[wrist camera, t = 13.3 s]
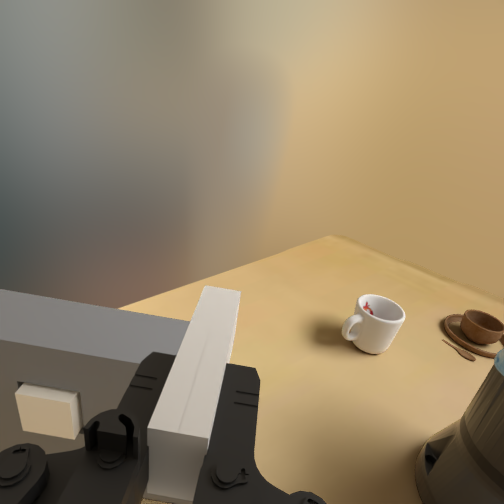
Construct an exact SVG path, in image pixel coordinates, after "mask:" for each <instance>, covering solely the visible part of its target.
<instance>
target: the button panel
mask: <svg viewBox="0 0 504 504" xmlns="http://www.w3.org/2000/svg"><path fill="white" fill-rule="evenodd" d="M189 324H190V322H189V321H184V320H178V319H172V318H166V317H160V316H154V315H149V314H143V313H137V312H131V311H125V310H119V309H113V308H107V307H101V306H96V305H90V304H84V303H78V302H73V301H67V300H61V299H55V298H49V297H43V296H37V295H32V294H26V293H20V292H14V291H8V290H3V289H0V452H1V451H3V450H5V449H7V448H9V447H12V446H14V445H17V444H24V443H31V444H35V445H39V446H40V447H41V448H42V449H43V450H44V451H45V454H52V453H59V452H66V451H72V450H76V449H80V448H82V447H84V446H85V440H84V431H83V427H84V426H85V425H86V424H87V423H88V422H89V420H90V419H91V418H93V417H94V416H96V415H98V414H99V413H101V412H104V411H107V410H110V409H117V407H118V405H119V403H120V401H121V399H122V397H123V395H124V393H125V392H126V390H127V388H128V387H129V384H130V382H131V380H132V378H133V377H134V375H135V372H136V371H137V369H138V367H139V365H140V363H141V361H142V360H143V359H145V358H146V357H147V356H148V355H149V354H151V353H152V352H153V351H154V352H159V353H165V354H171V355H177V353H178V351H179V348H180V346H181V343H182V341H183V338H184V336H185V334H186V331H187V329H188V326H189ZM24 382H26V383H32V384H38V385H43V386H49V387H55V388H61V389H66V390H72V391H78V392H80V396H81V406H82V415H83V426H82V428H81V430H80V431H79V433H78V435H77V436H76V438H75V440H73V439H68V438H62V437H56V436H51V435H45V434H39V433H34V432H28V431H23V428H22V424H21V420H20V415H19V411H18V406H17V402H16V397H15V392H16V391H17V390H18V389H19V388H20V387H21V385H22V384H23V383H24ZM143 498H145V499H151V500H156V501H162V502H167V503H173V504H192V503H193V501H189V500H183V499H178V498H172V497H167V496H161V495H156V494H150V493H147V486H146V489H145V492H144V495H143Z"/></svg>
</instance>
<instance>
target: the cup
mask: <svg viewBox="0 0 504 504" xmlns="http://www.w3.org/2000/svg"><path fill="white" fill-rule="evenodd" d="M404 319H405V313H404V311H403V309H402V308H401V307H400V306H399V305H398V304H397V303H395V302H394V301H392V300H390V299H388V298H385V297H382V296H379V295H373V294H367V295H362V296H360V297H359V298H358V300H357V302H356V307H355V312H354V315H353V316H351V317H349V318H348V319H347V320H346V321H345V322H344V324H343V327H342V335H343V337H344V338H345V339H346V340H349V341H350V340H352V342H353V343H354V344H355V345H356V346H357V347H358V348H359V349H361V350H363V351H365V352H367V353H371V354H380V353H383V352H384V351H386V350H387V348H388V347H389V346H390V344H391V342H392V340H393V339H394V337H395V335H396V334H397V332H398V330H399V328H400V327H401V325H402V323H403V321H404ZM350 329H351V332H350V333H349V331H350Z"/></svg>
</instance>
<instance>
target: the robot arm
mask: <svg viewBox="0 0 504 504" xmlns="http://www.w3.org/2000/svg"><path fill="white" fill-rule="evenodd" d="M240 295H241V291H236V290H230V289H224V288H218V287H212V286H206V285H205V287H204V289H203V292H202V294H201V297H200V299H199V301H198V304H197V306H196V309H195V311H194V314H193V316H192V319H191V321H190V324H189V326H188V329H187V331H186V334H185V336H184V338H183V341H182V343H181V346H180V348H179V351H178V353H177V355H171V354H165V353H159V352H154V351H153V352H152V353H151V354H149V355H148V356H147V357H146V358H145V359H143V360H142V361H141V363H140V365H139V367H138V369H137V371H136V372H135V375H134V377H133V378H132V380H131V382H130V384H129V387H128V388H127V390H126V392H125V393H124V395H123V397H122V399H121V401H120V403H119V405H118V407H117V409H110V410H107V411H104V412H101V413H99V414H98V415H96V416H94V417H93V418H91V419H90V420H89V422H88V423H87V424H86V425H85V426H84V427H83V431H84V440H85V446H84V447H82V448H80V449H76V450H72V451H66V452H59V453H52V454H45V451H44V450H43V449H42V448H41V447H40V446H39V445H35V444H31V443H24V444H17V445H14V446H12V447H9V448H7V449H5V450H3V451H1V452H0V504H141V500H142V498H143V495H144V492H145V489H146V486H147V493H150V494H156V495H161V496H167V497H172V498H178V499H183V500H189V501H193V503H192V504H326V503H325V501H324V500H323V499H322V498H320V497H319V496H317V495H315V494H313V493H311V492H305V491H298V492H295V493H292V494H290V495H289V494H287V493H285V492H283V491H282V490H280V489H278V488H276V487H275V486H273V485H272V484H270V483H269V482H267V481H266V480H265V479H264V477H263V476H262V475H261V474H260V472H259V470H258V468H257V467H256V463H255V460H254V446H255V435H256V424H257V413H258V402H259V390H260V379H259V376H258V374H257V371H256V368H252V367H246V366H241V365H235V364H229V362H230V357H231V352H232V348H233V343H234V336H235V329H236V322H237V315H238V309H239V302H240ZM494 360H495V362H494V365H493V367H492V368H491V370H490V372H489V373H488V375H487V377H486V379H485V380H484V382H483V384H482V385H481V387H480V388H479V390H478V392H477V393H476V395H475V396H474V398H473V400H472V401H471V403H470V404H469V406H468V408H467V410H466V411H465V413H464V414H463V416H462V418H461V419H459V420H458V421H456V422H454V423H453V424H451V425H449V426H448V427H446V428H444V429H443V430H441V431H439V432H438V433H436V434H434V435H433V436H432V437H430V438H429V439H428V440H427V442H426V443H425V444H424V446H423V448H422V450H421V451H420V453H419V455H418V457H417V460H416V465H415V477H416V483H417V487H418V491H419V494H420V497H421V499H422V501H423V504H504V348H503V349H502V350H500V351H499V352H498V353H497V354H496V356H495V359H494Z"/></svg>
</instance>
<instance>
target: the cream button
mask: <svg viewBox="0 0 504 504" xmlns="http://www.w3.org/2000/svg"><path fill="white" fill-rule="evenodd" d="M15 397H16V402H17V406H18V411H19V415H20V420H21V424H22V428H23V431H28V432H34V433H39V434H45V435H51V436H56V437H62V438H68V439H73V440H75V438H76V436H77V435H78V433H79V431H80V430H81V428H82V426H83V415H82V406H81V396H80V392H78V391H72V390H66V389H61V388H55V387H49V386H43V385H38V384H32V383H26V382H24V383H23V384H22V385H21V387H20V388H19V389H18V390H17V391H16V392H15Z"/></svg>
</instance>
